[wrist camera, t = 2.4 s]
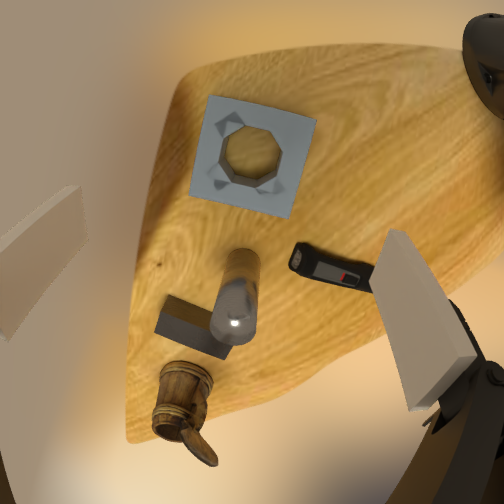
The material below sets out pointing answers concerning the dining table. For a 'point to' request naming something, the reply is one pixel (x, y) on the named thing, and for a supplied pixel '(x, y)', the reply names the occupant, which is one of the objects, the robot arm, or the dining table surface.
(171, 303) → the square bar
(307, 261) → the electric trimmer
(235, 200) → the bore block
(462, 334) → the robot arm
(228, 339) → the ball
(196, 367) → the wooden mug
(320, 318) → the dining table surface
